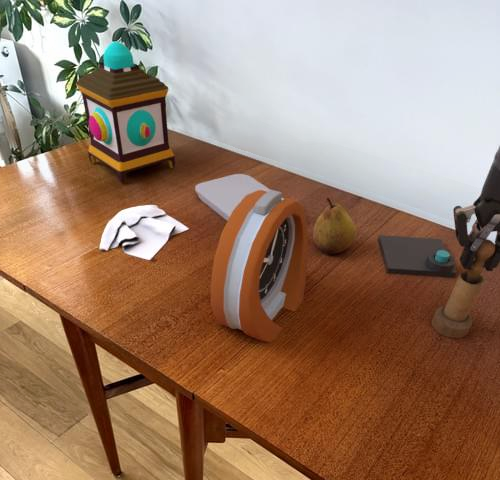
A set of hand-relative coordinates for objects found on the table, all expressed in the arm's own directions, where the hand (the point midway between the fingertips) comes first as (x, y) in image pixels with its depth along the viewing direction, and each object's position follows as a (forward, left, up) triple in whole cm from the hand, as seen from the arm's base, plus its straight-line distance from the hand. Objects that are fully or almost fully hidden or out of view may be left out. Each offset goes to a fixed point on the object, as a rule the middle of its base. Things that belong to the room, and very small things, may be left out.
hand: (476, 267), depth 76 cm
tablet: (+40, -40, -13) cm, 58 cm away
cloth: (+63, -25, -13) cm, 69 cm away
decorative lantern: (+73, -60, -13) cm, 95 cm away
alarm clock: (+34, -1, -13) cm, 37 cm away
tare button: (-2, -18, -11) cm, 21 cm away
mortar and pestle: (0, 0, -13) cm, 13 cm away
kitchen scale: (+2, -22, -13) cm, 26 cm away
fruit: (+20, -24, -13) cm, 34 cm away
